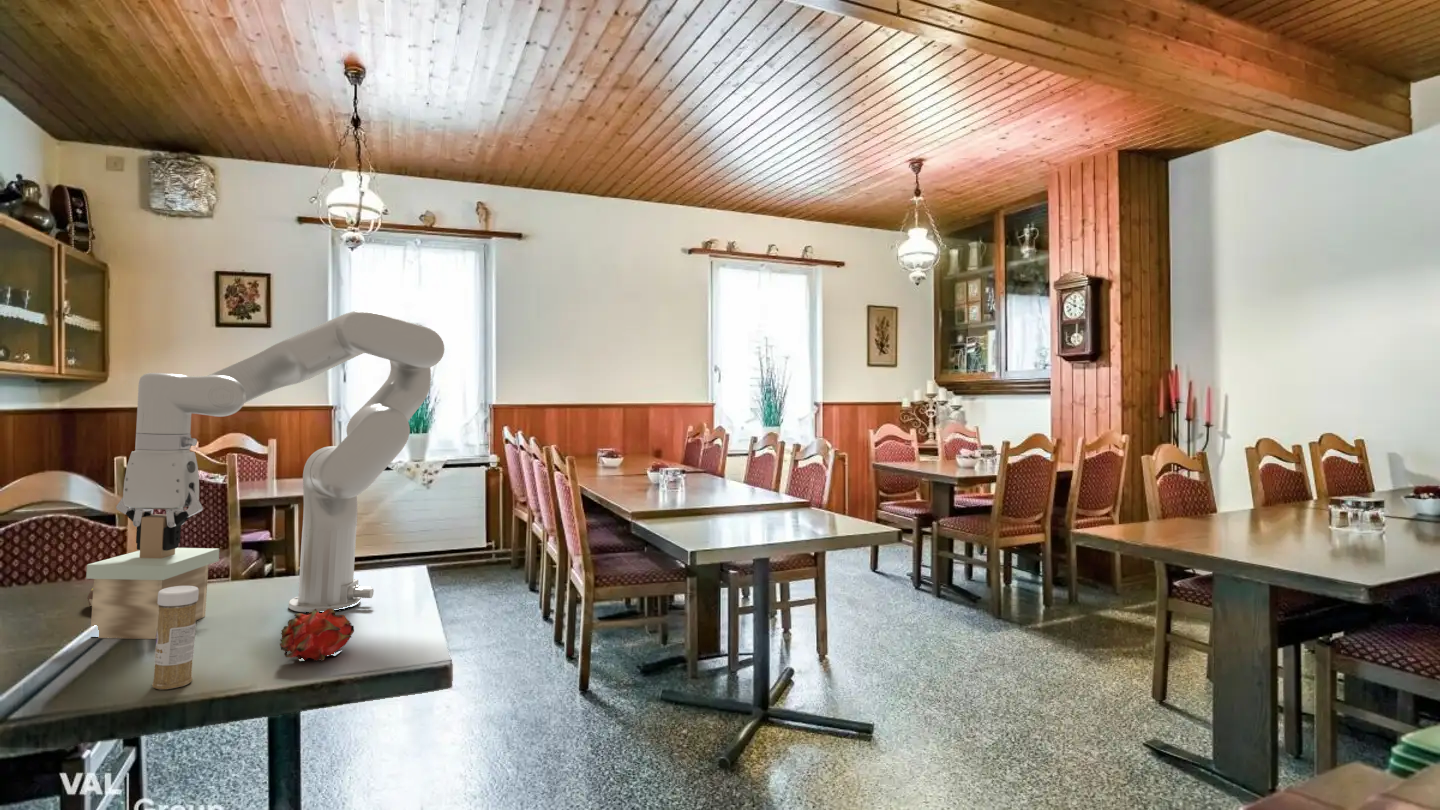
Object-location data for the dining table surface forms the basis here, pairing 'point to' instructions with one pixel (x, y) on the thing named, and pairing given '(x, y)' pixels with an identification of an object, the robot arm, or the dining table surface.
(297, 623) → the dragon fruit
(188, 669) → the sprinkles bottle
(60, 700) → the dining table surface
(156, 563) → the lid
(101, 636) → the pine box
